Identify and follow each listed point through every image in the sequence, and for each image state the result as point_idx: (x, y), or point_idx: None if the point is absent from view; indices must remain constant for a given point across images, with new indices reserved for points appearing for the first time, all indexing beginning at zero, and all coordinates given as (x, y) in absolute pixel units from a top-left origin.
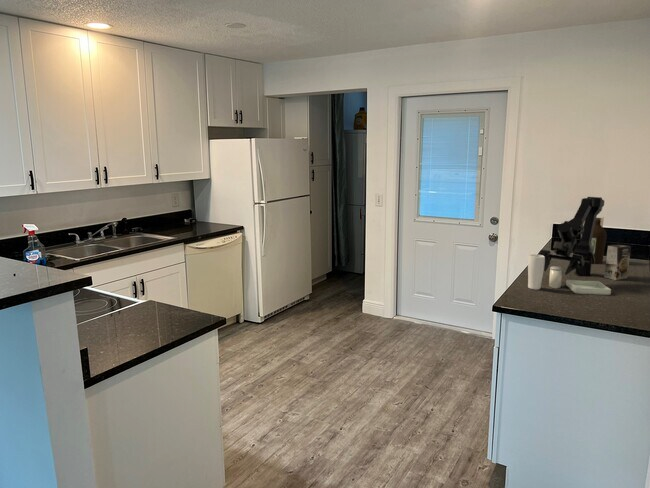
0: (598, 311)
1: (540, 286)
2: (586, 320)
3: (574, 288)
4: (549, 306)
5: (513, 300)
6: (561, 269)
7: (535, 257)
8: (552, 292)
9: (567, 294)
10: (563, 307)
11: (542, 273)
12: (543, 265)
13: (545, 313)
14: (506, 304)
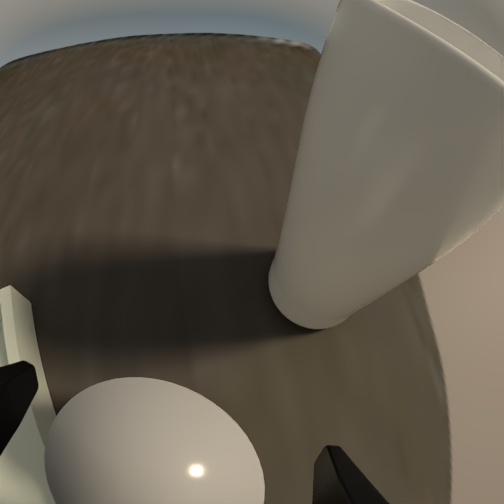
0: (30, 98)
1: (270, 270)
2: (93, 43)
3: (21, 324)
4: (178, 67)
5: (305, 78)
6: (58, 428)
7: (409, 2)
8: (172, 248)
9: (79, 249)
10: (131, 76)
11: (289, 190)
12: (309, 98)
13: (188, 36)
14: (304, 54)
